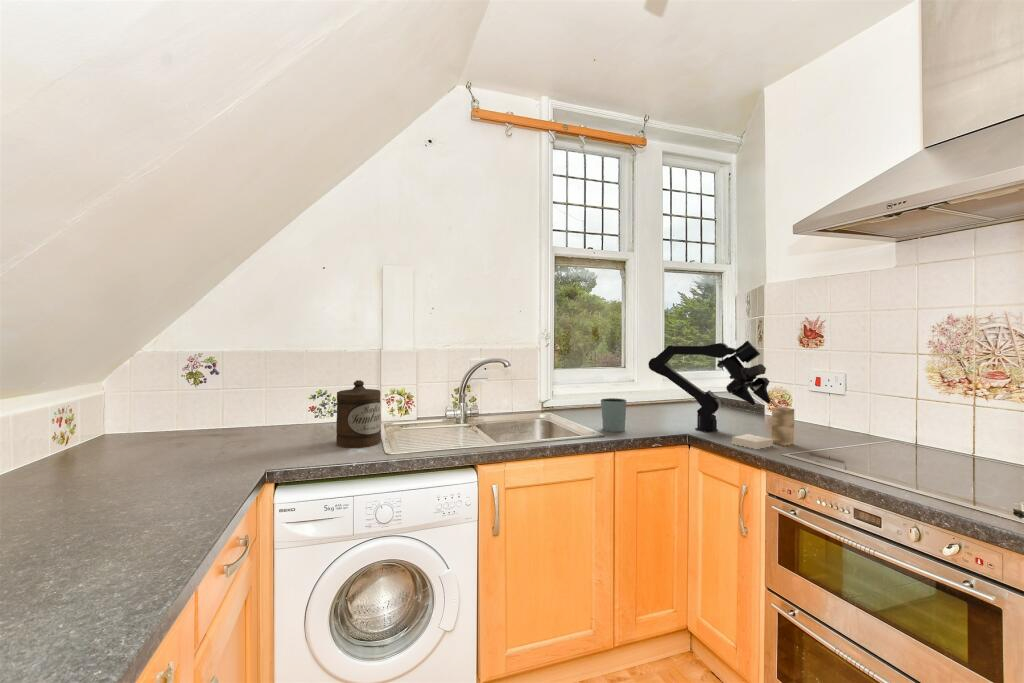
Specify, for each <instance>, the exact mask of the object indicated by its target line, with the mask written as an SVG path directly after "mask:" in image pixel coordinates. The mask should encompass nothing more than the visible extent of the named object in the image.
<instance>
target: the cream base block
mask: <svg viewBox="0 0 1024 683" xmlns="http://www.w3.org/2000/svg"><path fill="white" fill-rule="evenodd" d="M731 441H732V444H731V445H733V444H735V445H734V446H737V445H739V447H742V446H744V448H746V447H749V448H748V449H751V448H754V449H753V450H755V449H759V450H761V449H760V448H764V449H766V448H765V447H769V448H771V447H770V446H773V445H774V444H773V439H772V438H770V437H765V436H757V435H753V434H749V433H747V434H746V433H745V434H742V435H741V434H740V435H736V436H732V440H731Z"/></svg>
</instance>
